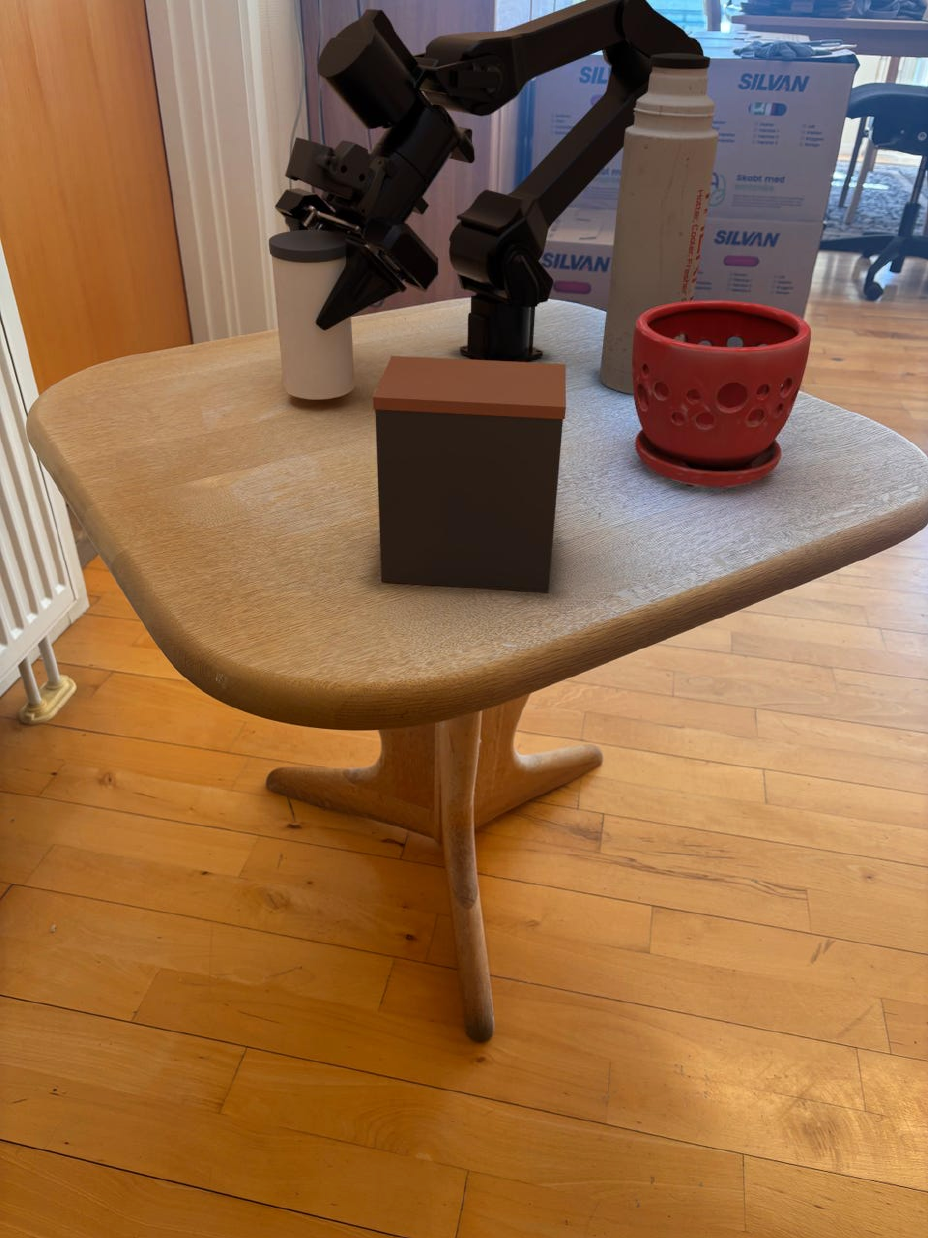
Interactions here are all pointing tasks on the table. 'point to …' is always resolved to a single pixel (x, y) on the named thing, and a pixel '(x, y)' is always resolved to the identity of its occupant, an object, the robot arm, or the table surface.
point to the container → (311, 314)
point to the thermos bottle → (659, 204)
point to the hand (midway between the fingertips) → (299, 317)
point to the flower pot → (715, 389)
